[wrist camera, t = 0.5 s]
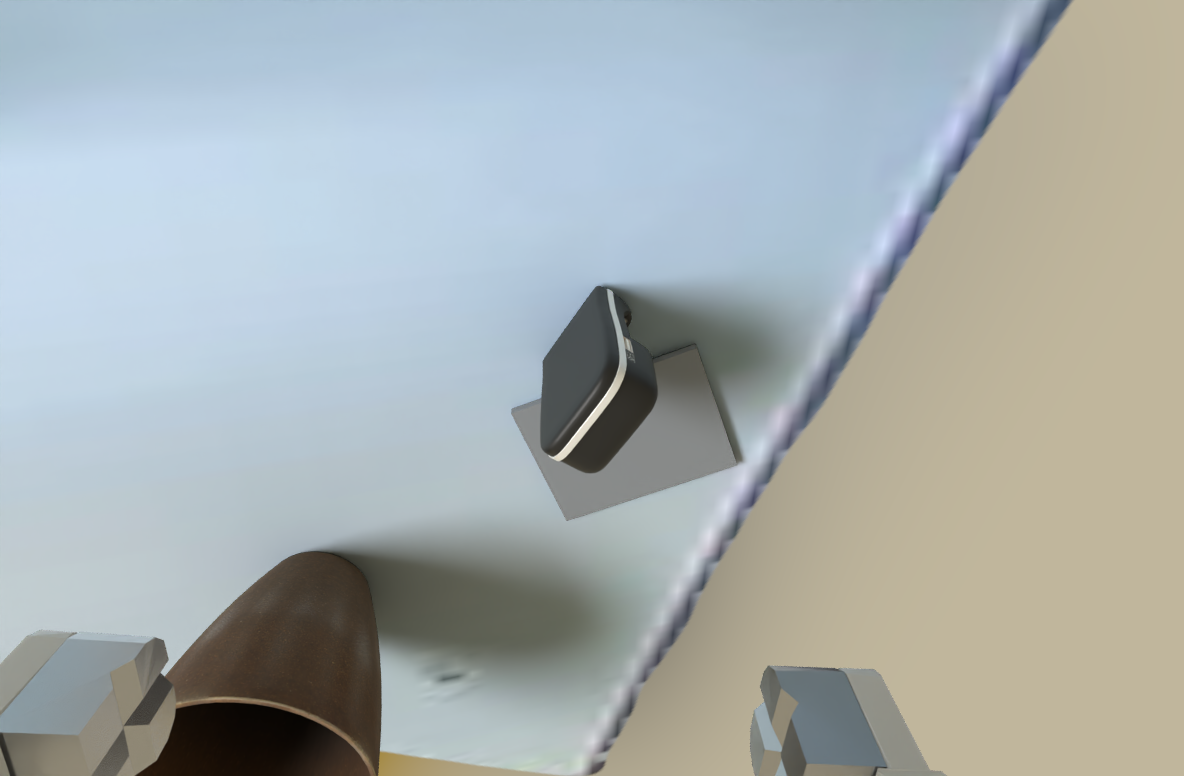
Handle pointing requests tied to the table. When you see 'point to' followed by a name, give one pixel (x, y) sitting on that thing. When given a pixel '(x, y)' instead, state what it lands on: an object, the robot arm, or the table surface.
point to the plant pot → (282, 680)
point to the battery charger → (595, 385)
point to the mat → (644, 443)
